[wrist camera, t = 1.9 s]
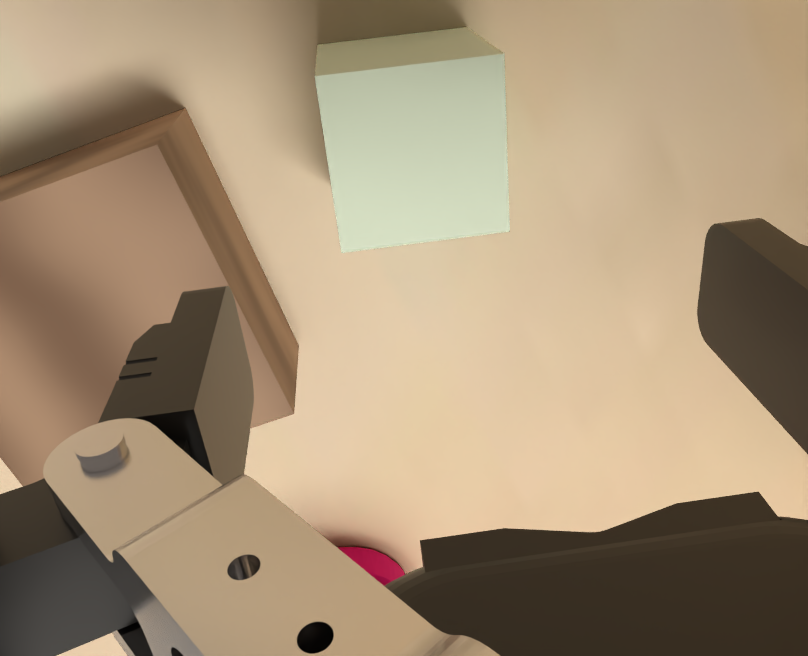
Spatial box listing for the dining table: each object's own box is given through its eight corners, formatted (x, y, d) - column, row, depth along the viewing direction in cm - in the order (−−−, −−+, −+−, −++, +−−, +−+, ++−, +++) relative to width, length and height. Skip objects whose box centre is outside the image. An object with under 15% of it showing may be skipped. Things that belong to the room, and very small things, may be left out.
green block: (466, 26, 24) (504, 53, 19) (474, 172, 27) (509, 231, 22) (317, 44, 24) (314, 76, 19) (338, 189, 27) (341, 252, 21)
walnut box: (186, 106, 25) (156, 144, 21) (299, 342, 30) (294, 413, 26) (-75, 203, 26) (-157, 259, 21) (75, 418, 31) (34, 500, 26)
